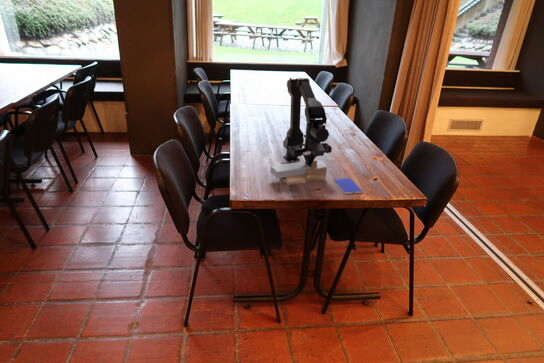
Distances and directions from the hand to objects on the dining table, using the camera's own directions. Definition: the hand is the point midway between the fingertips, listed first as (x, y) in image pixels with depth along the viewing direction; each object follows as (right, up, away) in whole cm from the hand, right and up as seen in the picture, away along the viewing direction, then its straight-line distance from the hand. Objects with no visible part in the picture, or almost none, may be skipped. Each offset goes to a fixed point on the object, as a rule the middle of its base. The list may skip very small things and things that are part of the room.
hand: (308, 167), depth 163 cm
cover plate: (-8, -3, -3) cm, 9 cm away
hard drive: (+17, -9, -4) cm, 19 cm away
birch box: (-3, -5, +1) cm, 6 cm away
